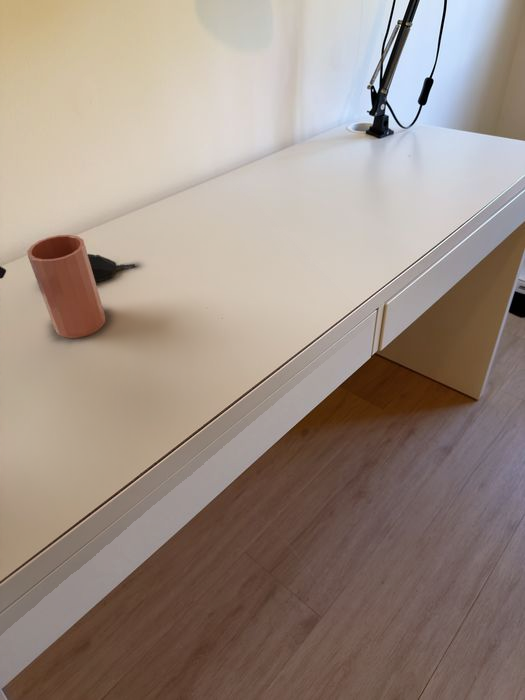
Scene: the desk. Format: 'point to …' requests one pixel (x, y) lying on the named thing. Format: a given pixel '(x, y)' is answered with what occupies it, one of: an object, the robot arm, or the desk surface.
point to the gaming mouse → (103, 267)
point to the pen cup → (67, 285)
